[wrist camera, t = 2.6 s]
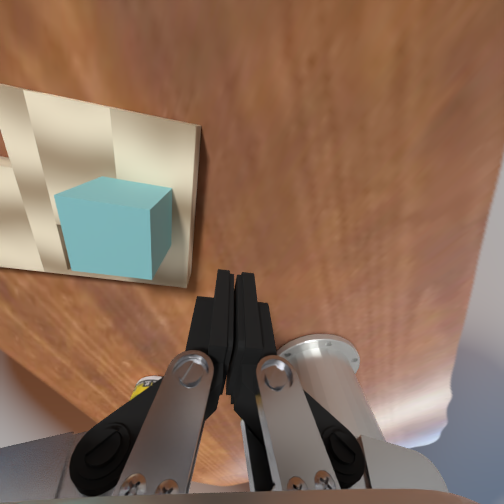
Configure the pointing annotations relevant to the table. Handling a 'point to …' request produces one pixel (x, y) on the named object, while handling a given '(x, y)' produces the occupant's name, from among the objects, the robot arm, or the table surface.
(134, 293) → the table surface
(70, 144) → the box
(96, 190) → the block
